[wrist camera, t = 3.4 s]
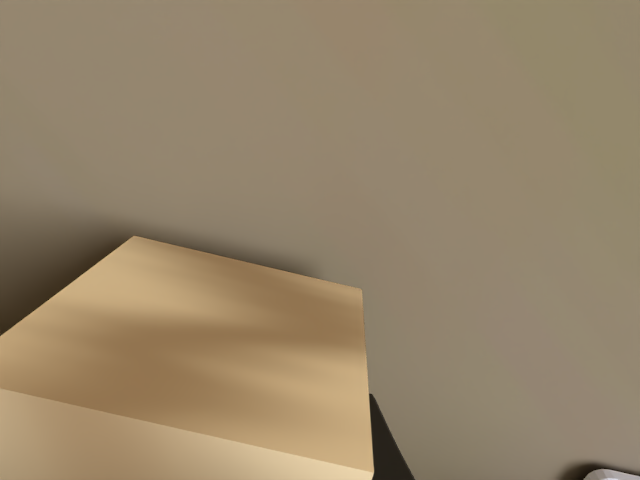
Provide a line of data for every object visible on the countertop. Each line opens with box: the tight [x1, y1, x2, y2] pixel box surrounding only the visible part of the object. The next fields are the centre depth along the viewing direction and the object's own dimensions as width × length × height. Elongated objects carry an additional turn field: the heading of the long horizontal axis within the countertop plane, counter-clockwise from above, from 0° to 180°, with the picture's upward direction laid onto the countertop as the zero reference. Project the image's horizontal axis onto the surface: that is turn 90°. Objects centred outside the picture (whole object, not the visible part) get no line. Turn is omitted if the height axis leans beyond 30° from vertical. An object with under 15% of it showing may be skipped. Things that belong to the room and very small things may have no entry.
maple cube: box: [0, 236, 374, 480], centre depth 9 cm, size 5×5×5 cm
